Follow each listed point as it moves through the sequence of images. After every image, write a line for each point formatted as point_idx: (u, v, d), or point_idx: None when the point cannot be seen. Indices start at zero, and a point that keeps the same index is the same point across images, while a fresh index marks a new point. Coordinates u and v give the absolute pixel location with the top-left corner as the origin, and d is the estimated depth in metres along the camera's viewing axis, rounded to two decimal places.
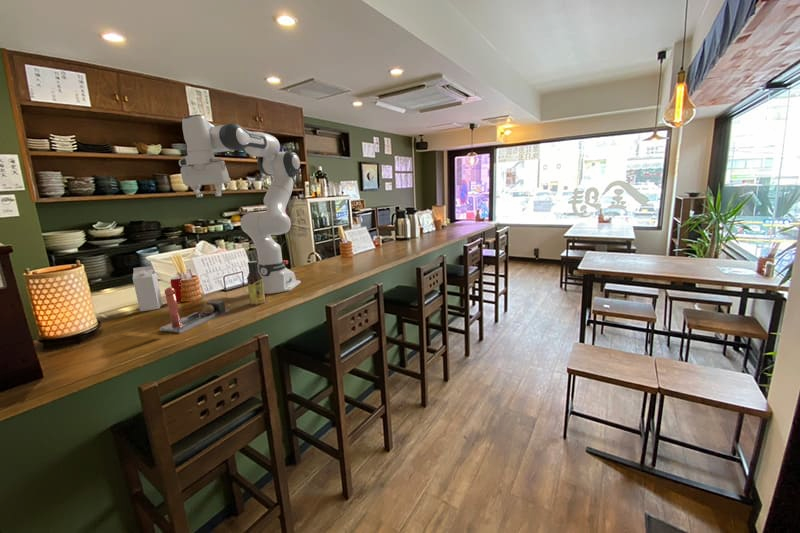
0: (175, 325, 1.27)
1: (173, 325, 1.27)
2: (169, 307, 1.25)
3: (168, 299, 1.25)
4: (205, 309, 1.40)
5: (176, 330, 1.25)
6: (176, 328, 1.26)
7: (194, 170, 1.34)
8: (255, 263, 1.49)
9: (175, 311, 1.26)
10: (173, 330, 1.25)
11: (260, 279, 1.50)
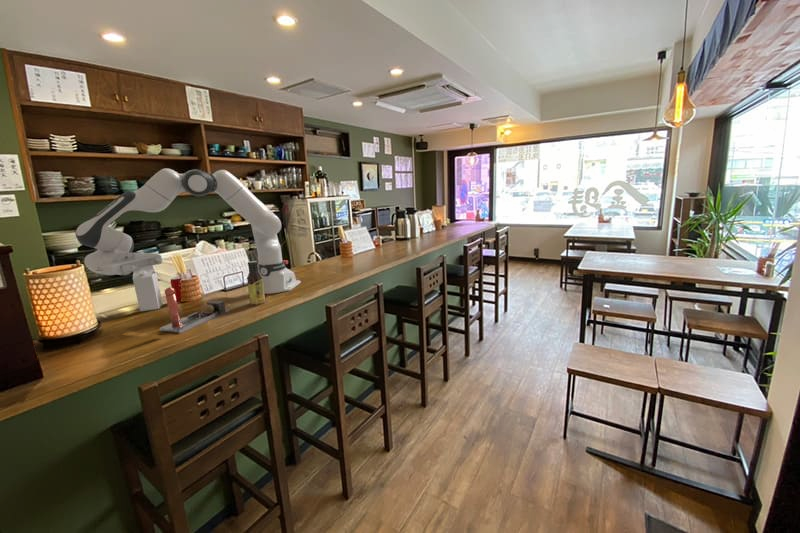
0: (175, 325, 1.27)
1: (173, 325, 1.27)
2: (169, 307, 1.25)
3: (168, 299, 1.25)
4: (205, 309, 1.40)
5: (176, 330, 1.25)
6: (176, 328, 1.26)
7: None
8: (255, 263, 1.49)
9: (175, 311, 1.26)
10: (173, 330, 1.25)
11: (260, 279, 1.50)
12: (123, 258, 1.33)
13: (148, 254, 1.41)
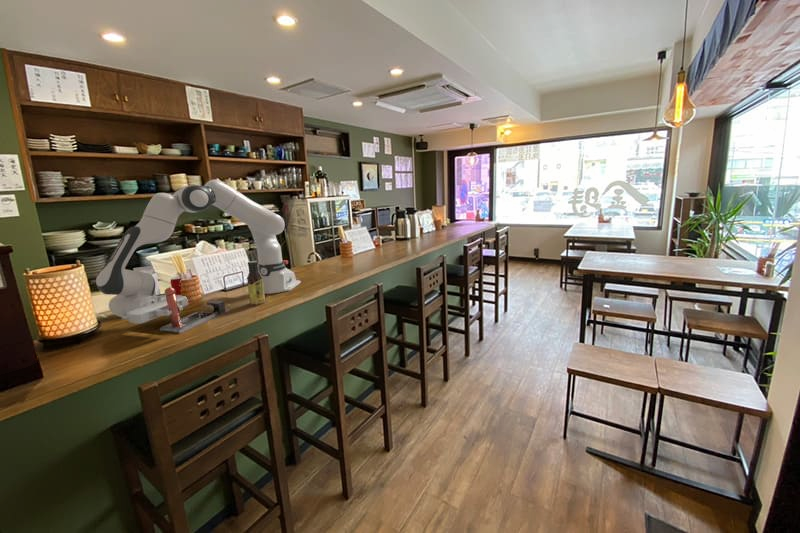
0: (175, 325, 1.27)
1: (173, 325, 1.27)
2: (169, 307, 1.25)
3: (168, 299, 1.25)
4: (205, 309, 1.40)
5: (176, 330, 1.25)
6: (176, 328, 1.26)
7: None
8: (255, 263, 1.49)
9: (175, 311, 1.26)
10: (173, 330, 1.25)
11: (260, 279, 1.50)
12: (150, 303, 1.28)
13: None
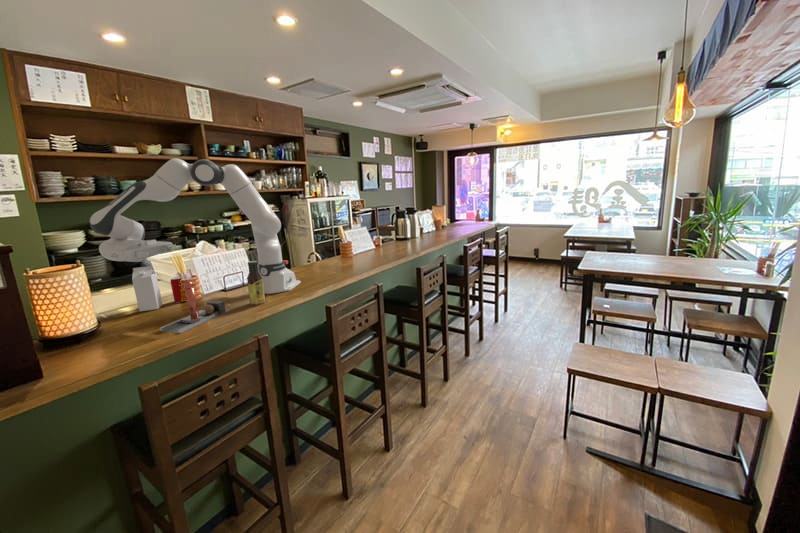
0: (193, 317, 1.34)
1: (192, 317, 1.34)
2: (188, 300, 1.33)
3: (187, 292, 1.32)
4: (205, 309, 1.40)
5: (195, 321, 1.32)
6: (195, 320, 1.33)
7: None
8: (255, 263, 1.49)
9: (193, 304, 1.33)
10: (192, 321, 1.33)
11: (260, 279, 1.50)
12: (136, 245, 1.38)
13: (160, 242, 1.46)
